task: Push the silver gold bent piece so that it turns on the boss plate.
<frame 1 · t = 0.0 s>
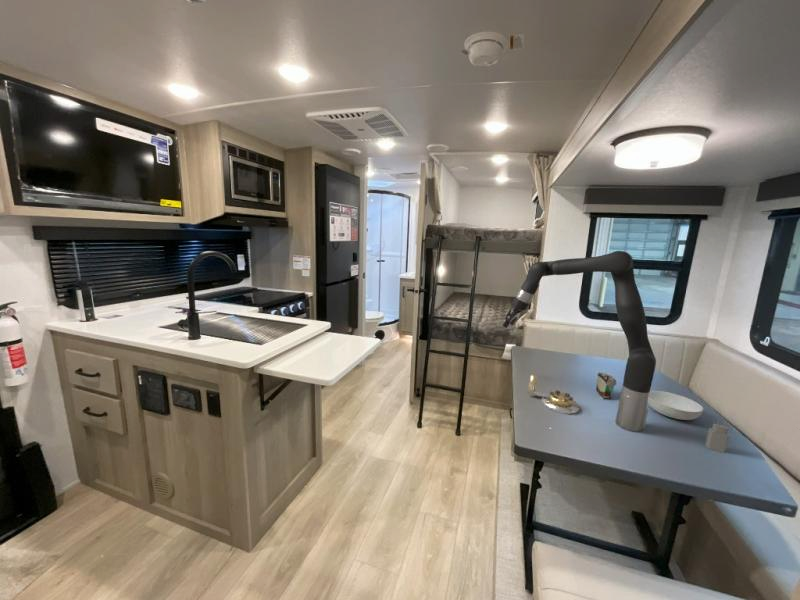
hand: (508, 325, 168), 31 cm above the table, tool tilted 20°, fingers open, 8 cm apart
boss plate: (559, 405, 153), on the table
food container: (605, 396, 167), on the table
silver gold bent piece: (550, 389, 154), point 6 cm above the table, hinge at 0.0°
power adapter: (714, 448, 126), on the table
serving bowl: (670, 414, 152), on the table
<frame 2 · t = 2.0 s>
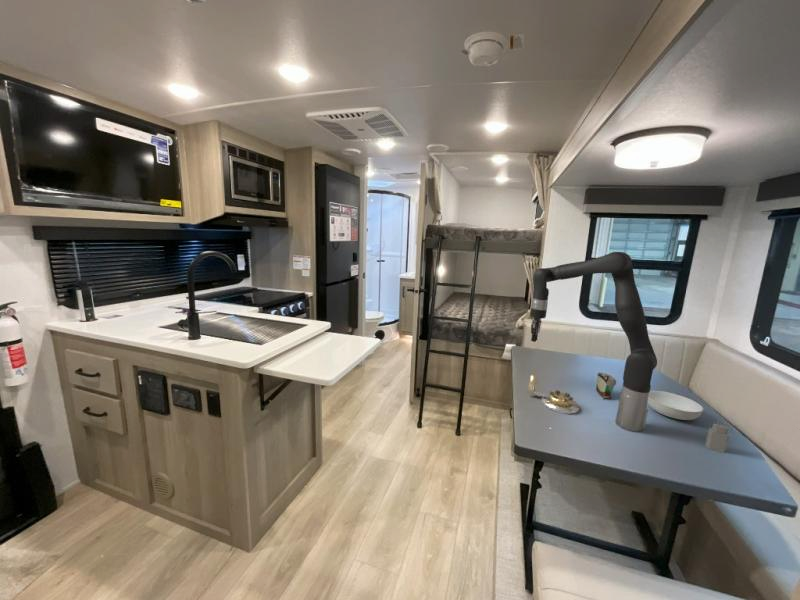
hand: (534, 340, 167), 25 cm above the table, tool pointing down, fingers closed
nothing on the table moved.
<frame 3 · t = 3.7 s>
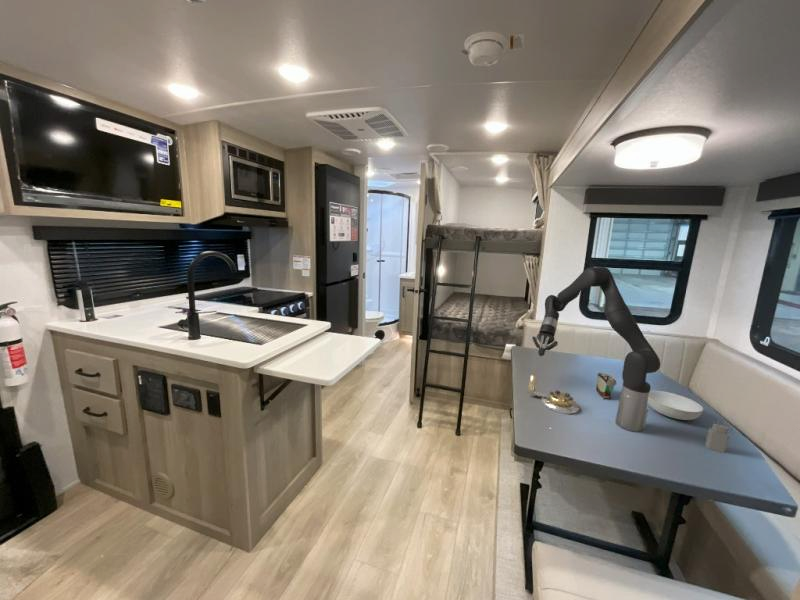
hand: (540, 355, 167), 18 cm above the table, tool tilted 45°, fingers closed
nothing on the table moved.
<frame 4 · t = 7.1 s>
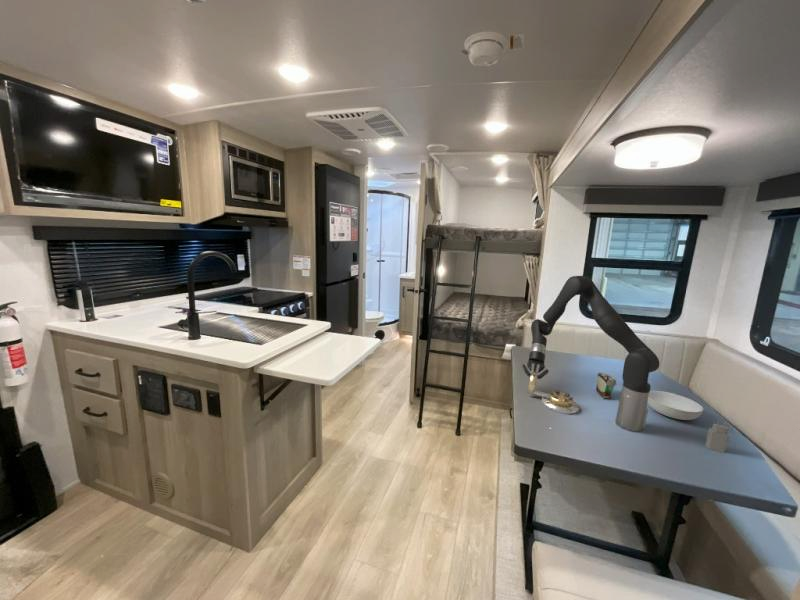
hand: (532, 384, 161), 5 cm above the table, tool tilted 45°, fingers closed
silver gold bent piece: (550, 389, 154), point 6 cm above the table, hinge at 1.3°, touching gripper
everything else where it was.
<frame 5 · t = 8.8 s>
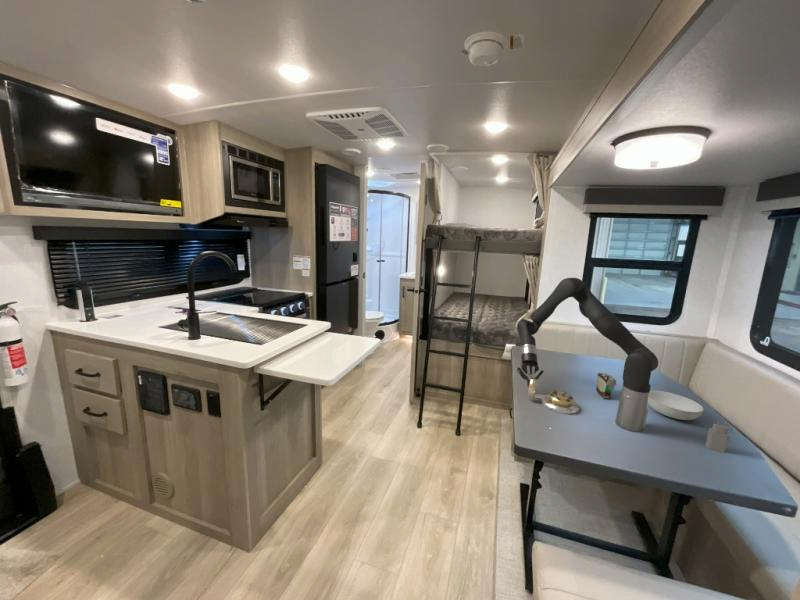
hand: (530, 388, 157), 5 cm above the table, tool tilted 45°, fingers closed
silver gold bent piece: (550, 391, 153), point 6 cm above the table, hinge at 21.1°, touching gripper
everything else where it was.
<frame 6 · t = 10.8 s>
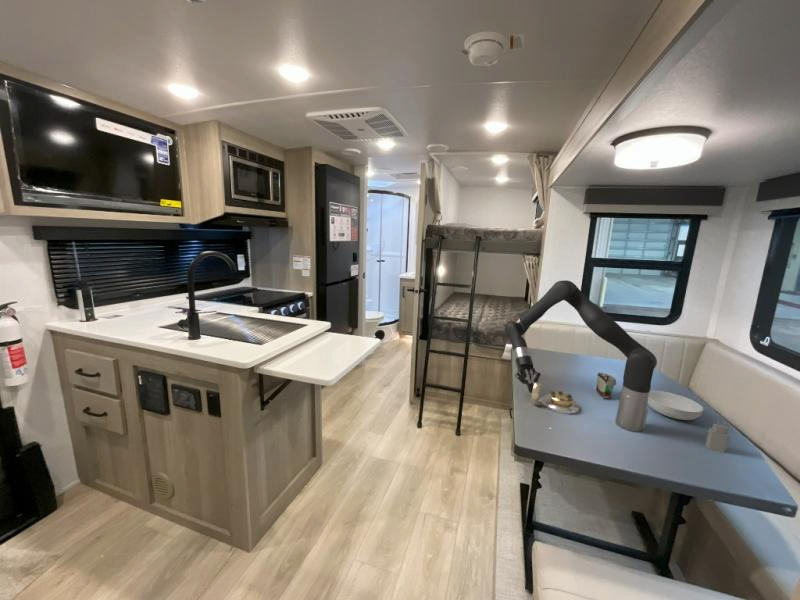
hand: (532, 392, 152), 5 cm above the table, tool tilted 45°, fingers closed
silver gold bent piece: (552, 392, 151), point 6 cm above the table, hinge at 41.3°, touching gripper
everything else where it was.
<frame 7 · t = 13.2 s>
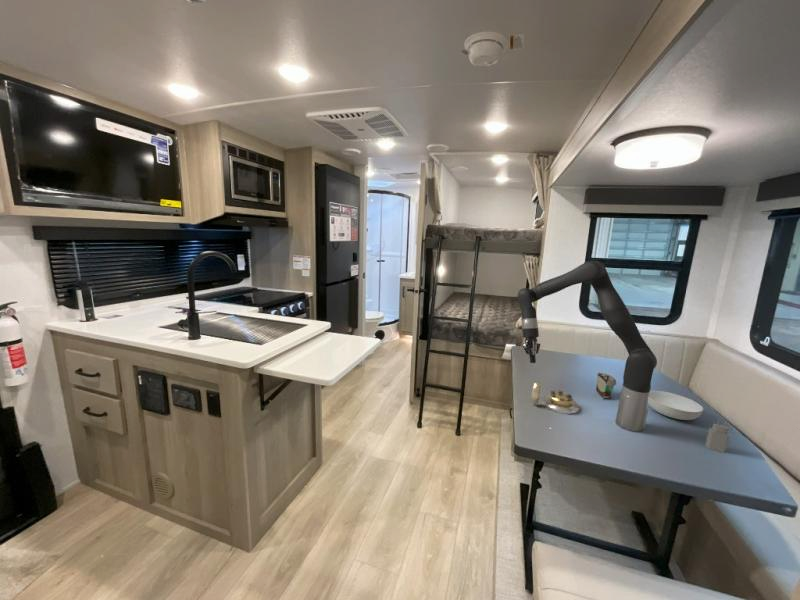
hand: (533, 362, 161), 16 cm above the table, tool tilted 20°, fingers closed
silver gold bent piece: (552, 392, 151), point 6 cm above the table, hinge at 41.3°
everything else where it was.
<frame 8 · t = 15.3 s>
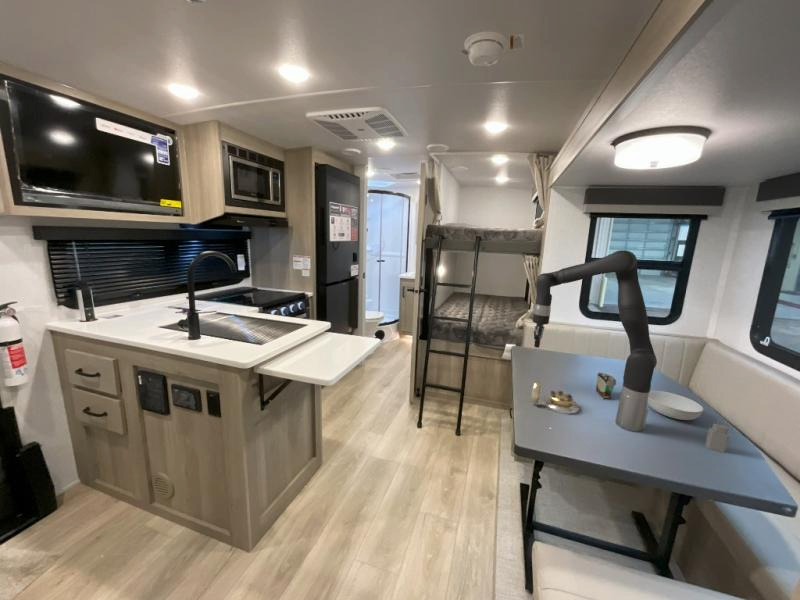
hand: (536, 346, 164), 23 cm above the table, tool pointing down, fingers closed
nothing on the table moved.
at the end: silver gold bent piece at +41° (first picture: +0°); food container moved 0.2 cm from its start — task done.
